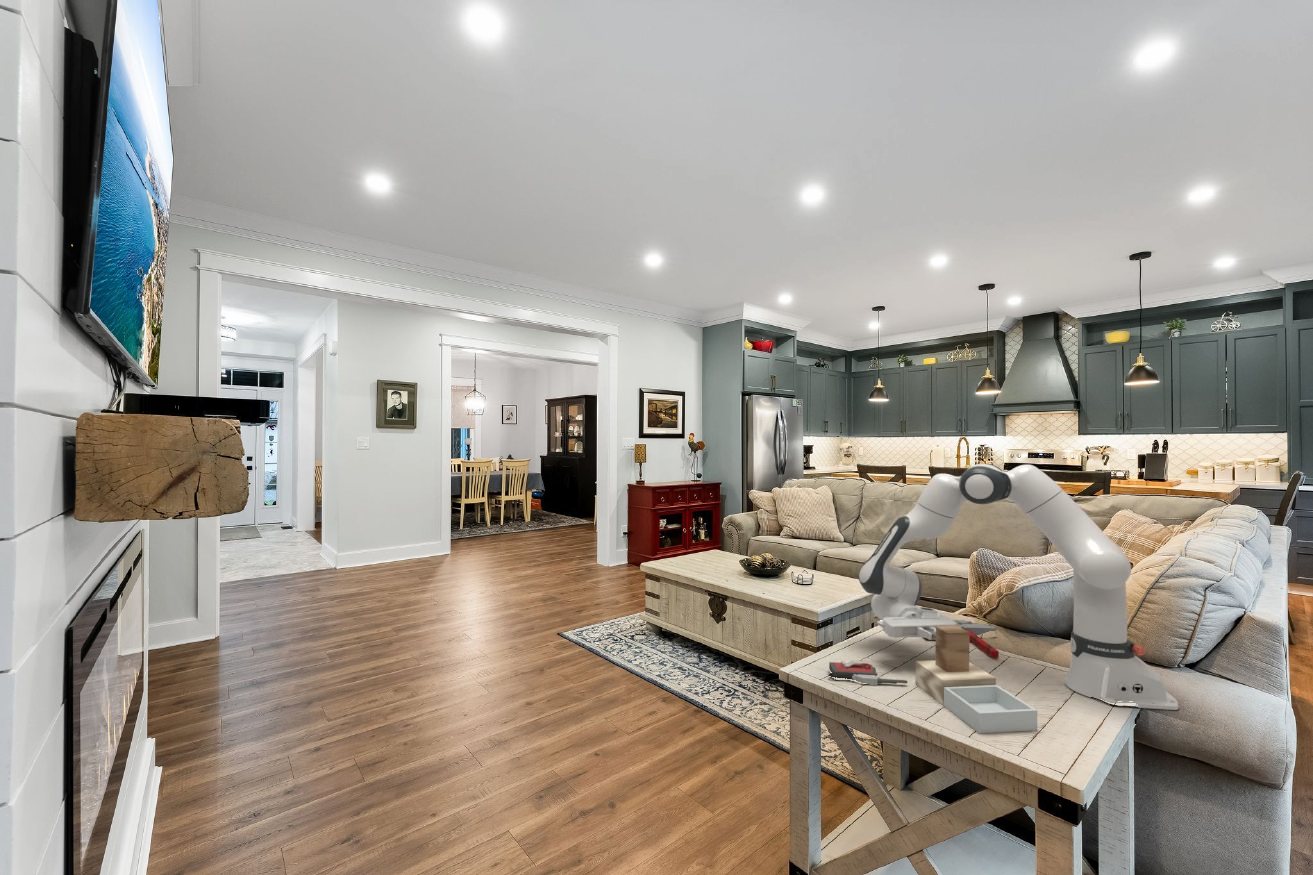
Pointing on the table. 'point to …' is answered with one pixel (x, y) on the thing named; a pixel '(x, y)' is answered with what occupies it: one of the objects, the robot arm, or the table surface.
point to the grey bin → (990, 709)
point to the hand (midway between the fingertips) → (935, 636)
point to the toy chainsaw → (858, 672)
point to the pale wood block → (948, 678)
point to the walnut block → (952, 648)
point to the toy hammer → (977, 630)
